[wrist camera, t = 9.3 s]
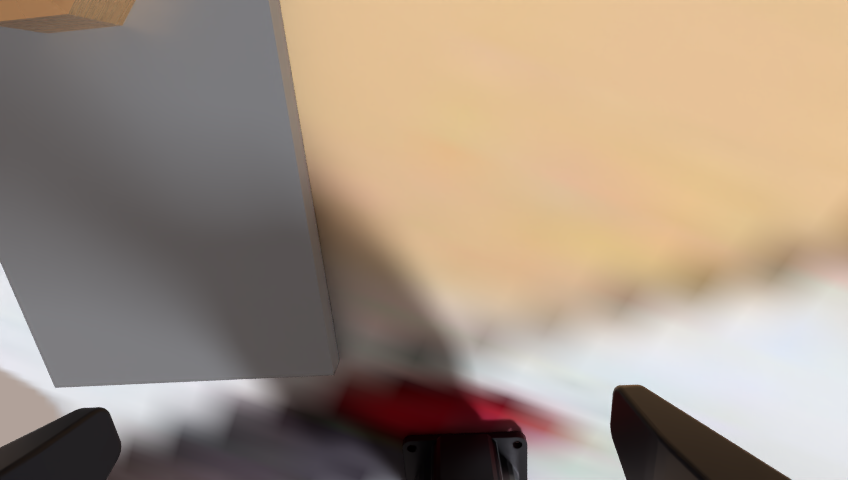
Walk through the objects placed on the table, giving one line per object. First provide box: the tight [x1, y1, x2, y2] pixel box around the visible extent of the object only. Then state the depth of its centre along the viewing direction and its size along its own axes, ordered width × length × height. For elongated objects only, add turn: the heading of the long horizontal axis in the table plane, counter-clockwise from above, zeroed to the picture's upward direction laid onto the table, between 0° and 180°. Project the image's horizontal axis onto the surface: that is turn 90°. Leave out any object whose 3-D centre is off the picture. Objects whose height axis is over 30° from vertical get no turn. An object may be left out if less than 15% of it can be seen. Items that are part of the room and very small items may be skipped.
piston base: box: [0, 0, 339, 388], centre depth 15 cm, size 24×14×5 cm, turn 4°
